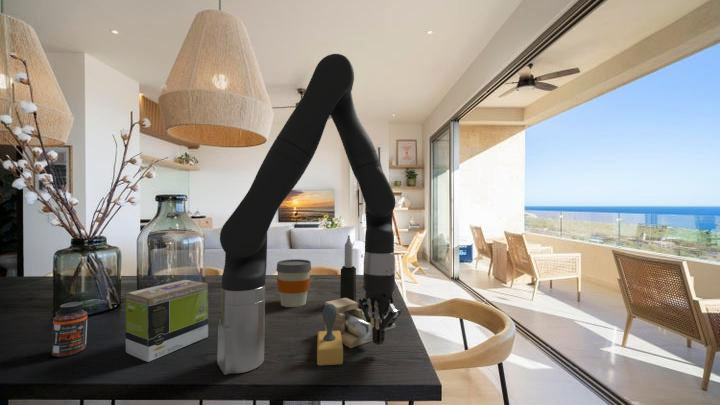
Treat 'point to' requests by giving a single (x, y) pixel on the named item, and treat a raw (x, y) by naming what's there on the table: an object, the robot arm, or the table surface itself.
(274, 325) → the table surface
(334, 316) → the rubber stamp
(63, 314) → the supplement bottle
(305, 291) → the reusable coffee cup
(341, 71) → the robot arm
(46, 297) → the table surface
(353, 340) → the beige block
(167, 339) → the tea box
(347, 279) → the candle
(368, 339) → the axle
